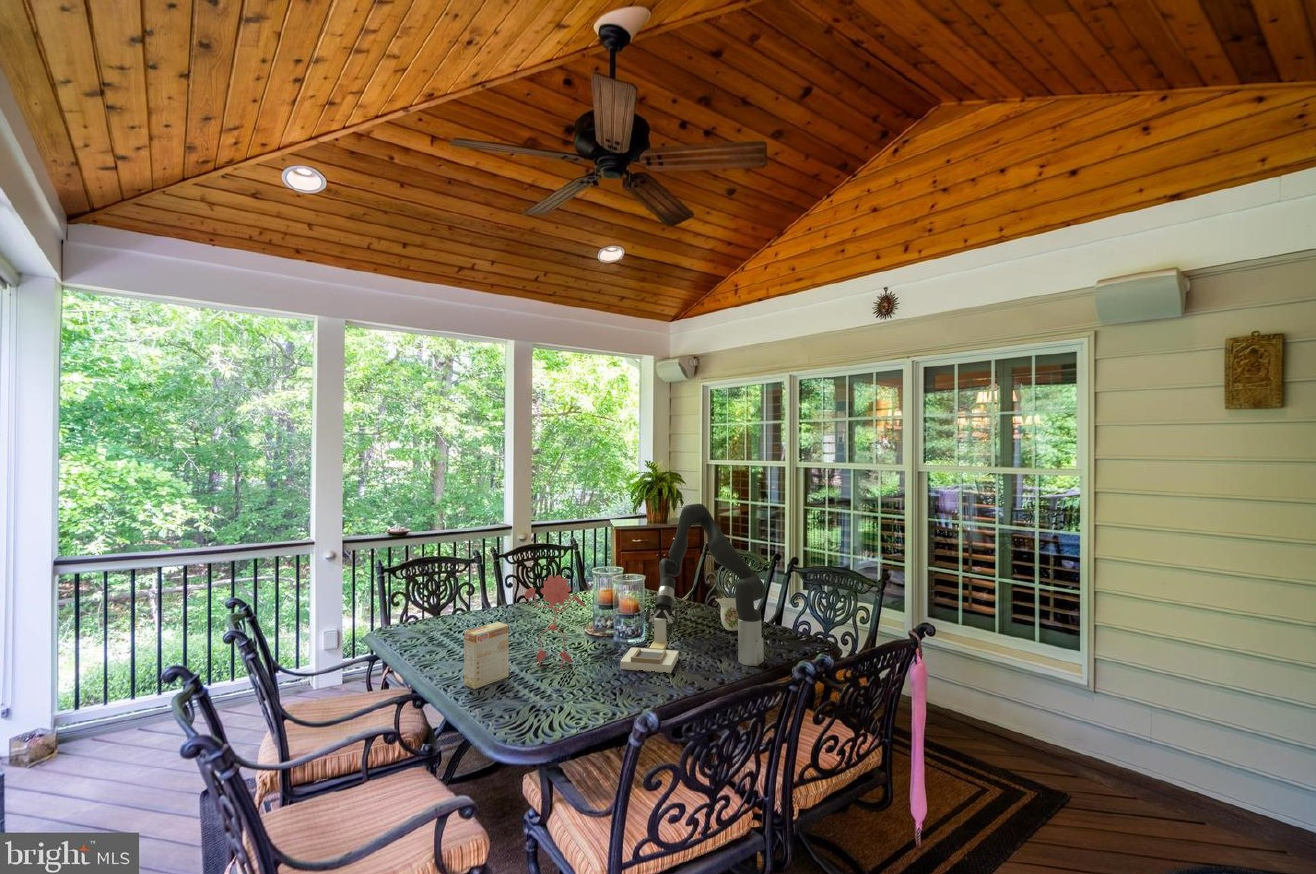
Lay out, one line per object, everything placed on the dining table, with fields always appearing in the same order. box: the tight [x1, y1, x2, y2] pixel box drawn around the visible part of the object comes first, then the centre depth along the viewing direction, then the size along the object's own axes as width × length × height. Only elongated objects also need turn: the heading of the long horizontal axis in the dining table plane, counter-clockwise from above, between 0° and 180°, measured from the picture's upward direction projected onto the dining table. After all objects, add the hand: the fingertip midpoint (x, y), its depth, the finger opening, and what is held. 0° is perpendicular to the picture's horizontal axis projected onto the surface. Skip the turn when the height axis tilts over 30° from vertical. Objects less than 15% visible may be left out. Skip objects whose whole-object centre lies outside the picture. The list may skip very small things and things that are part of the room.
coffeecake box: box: [463, 621, 510, 690], centre depth 216 cm, size 15×7×20 cm, turn 141°
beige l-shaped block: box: [649, 617, 669, 650], centre depth 247 cm, size 9×6×12 cm
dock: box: [619, 646, 680, 674], centre depth 232 cm, size 20×16×5 cm
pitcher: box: [715, 597, 738, 632], centre depth 277 cm, size 11×18×14 cm, turn 86°
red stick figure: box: [524, 574, 586, 671], centre depth 235 cm, size 15×26×35 cm, turn 79°
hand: (659, 632), depth 249 cm, fingers open, 8 cm apart
